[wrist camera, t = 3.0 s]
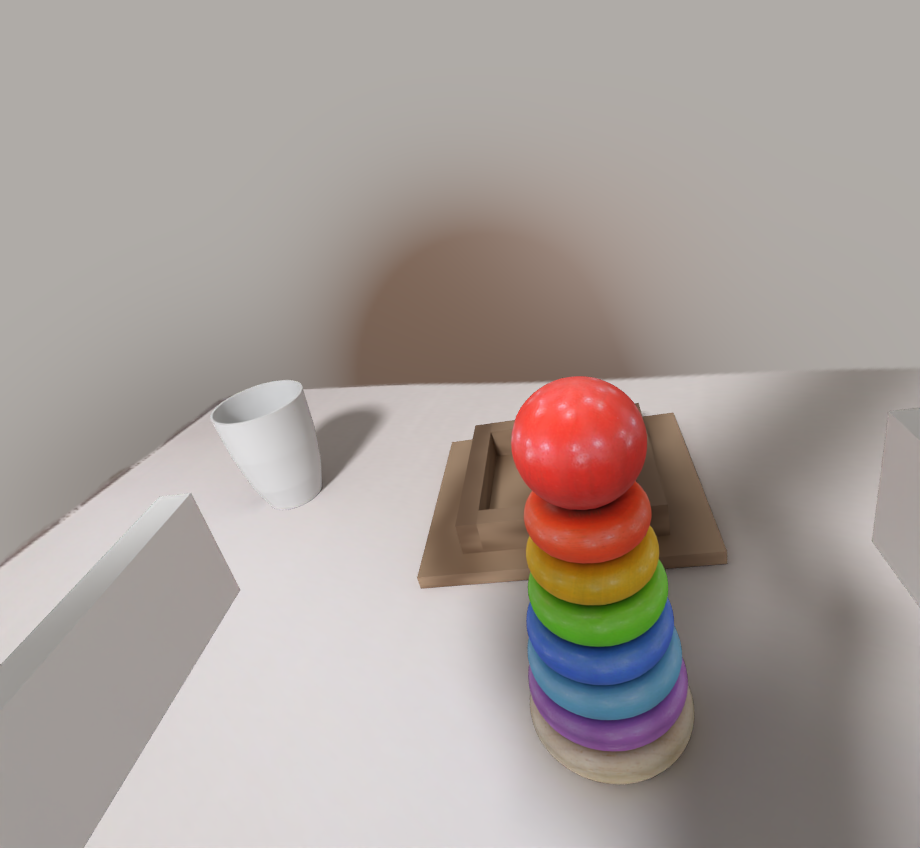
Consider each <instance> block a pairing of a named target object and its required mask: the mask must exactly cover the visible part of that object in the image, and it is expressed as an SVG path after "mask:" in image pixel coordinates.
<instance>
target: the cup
mask: <svg viewBox="0 0 920 848" xmlns="http://www.w3.org/2000/svg"><path fill="white" fill-rule="evenodd" d="M210 419H211V421H212V423H213V425H214V427H215V428H216V430H217V432H218V434H219V436H220V437H221V439H222V441H223V443H224V445H225V446H226V448H227V450H228V452H229V454H230V455H231V457H232V459H233V461H234V462H235V463H236V465H237V466H238V467H239V469H240V470H241V472H242V473H243V474H244V476H245V477H246V479H247V480H248V481H249V483H250V484H251V485H252V487H253V488H254V489H255V490H256V491H257V492H258V493H259V494H260V495H261V496H262V497H263V498H264V499H265V500H266V501H267V502H268V503H269V504H270V505H271V506H272V507H273V508H274V509H277V510H288V509H293V508H296V507H299V506H301V505H304V504H306V503H307V502H309V501H311V500H312V499H313V498H314V497H316V496H317V495H318V493H319V492H320V490H321V488H322V474H321V458H320V452H319V447H318V442H317V437H316V431H315V426H314V423H313V420H312V417H311V414H310V410H309V407H308V404H307V401H306V397H305V394H304V391H303V388H302V385H301V384H300V383H299V382H297V381H292V380H281V381H273V382H268V383H264V384H261V385H258V386H254V387H252V388H249V389H247V390H244V391H241V392H239V393H237V394H235V395H233V396H231V397H230V398H228V399H226V400H225V401H223V402H222V403H221V404H219V405H218V406H217V407H216V408H215V409H214V410H213V412H212V413H211V415H210Z"/></svg>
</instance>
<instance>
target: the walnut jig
mask: <svg viewBox="0 0 920 848" xmlns="http://www.w3.org/2000/svg"><path fill="white" fill-rule="evenodd" d="M635 405H636V406H637V408H638V410H639V411H640V413H641V410H640V407H639V403H635ZM641 416H642V414H641ZM642 418H643V421H644V424H645V428H646V433H647V452H646V458H645V462H644V465H643V468H642V470H641V472H640V474H639V476H638V477H637V479H636V482H637V483H638V484H639V485H640V486H641V487H642V489H643V490H644V491H645V492H646V494H647V496H648V499H649V501H650V506H651V514H652V515H651V522H650V526H651V527H652V528H653V530H654V532H655V535H656V537H657V540H658V544H659V560H660V562H661V563H662V565H663V567H664V569H667V568H680V567H692V566H705V565H717V564H727V550H726V547H725V545H724V542H723V540H722V537H721V535H720V532H719V529H718V527H717V524H716V522H715V519H714V517H713V514H712V511H711V509H710V506H709V504H708V501H707V499H706V496H705V493H704V491H703V488H702V486H701V483H700V480H699V478H698V475H697V473H696V470H695V468H694V465H693V462H692V460H691V457H690V455H689V452H688V450H687V447H686V444H685V442H684V439H683V437H682V434H681V431H680V429H679V426H678V424H677V421H676V419H675V416H674V413H667V414H659V415H652V416H645V417H642ZM514 422H515V420H512V421H505V422H498V423H491V424H484V425H476V426H475V430H474V435H473V440H465V441H458V442H452V445H451V449H450V453H449V457H448V461H447V464H446V468H445V472H444V476H443V480H442V484H441V488H440V492H439V495H438V499H437V503H436V507H435V511H434V515H433V519H432V523H431V526H430V530H429V534H428V538H427V542H426V546H425V550H424V553H423V557H422V561H421V565H420V569H419V573H418V577H417V579H418V581H419V584H420V587H421V588H433V587H445V586H458V585H470V584H482V583H495V582H507V581H519V580H529V576H530V570H529V568H528V564H527V559H526V546H527V541H528V538H529V534H528V532H527V529H526V526H525V522H524V508H525V504H526V501H527V499H528V497H529V495H530V493H531V492H532V490H531V489H530V488H529V487H528V486H527V485H526V484H525V482H524V480H523V479H522V477H521V476H520V474H519V472H518V470H517V468H516V465H515V463H514V459H513V455H512V448H511V438H512V430H513V426H514Z"/></svg>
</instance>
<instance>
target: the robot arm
mask: <svg viewBox="0 0 920 848" xmlns="http://www.w3.org/2000/svg"><path fill="white" fill-rule="evenodd" d="M872 542H873V544H874V545H875V546H876V548H877V549H878V550H879V552H880V553H881V555H882V556H883V557H884V559H885V560H886V562H887V563H888V564H889V566H890V567H891V569H892V570H893V571H894V573H895V574H896V575H897V577H898V578H899V580H900V581H901V582H902V584H903V585H904V587H905V588H906V589H907V591H908V592H909V594H910V595H911V596H912V598H913V599H914V600H915V602H916V603H917V605H918V606H919V607H920V408H912V409H904V410H895V411H889V412H888V420H887V428H886V435H885V443H884V451H883V459H882V466H881V474H880V482H879V490H878V497H877V505H876V513H875V521H874V528H873V536H872ZM239 591H240V588H239V586H238V584H237V582H236V580H235V578H234V577H233V575H232V573H231V571H230V569H229V567H228V565H227V563H226V561H225V559H224V557H223V555H222V553H221V551H220V549H219V547H218V545H217V543H216V541H215V539H214V537H213V535H212V533H211V531H210V529H209V527H208V525H207V523H206V521H205V519H204V517H203V515H202V514H201V512H200V510H199V508H198V506H197V504H196V502H195V500H194V498H193V496H192V494H191V493H186V494H177V495H169V496H160V497H159V498H158V499H157V500H156V501H155V502H154V503H153V504H152V505H151V506H150V507H149V508H148V509H147V510H146V511H145V512H144V514H143V515H142V516H141V517H140V518H139V519H138V520H137V521H136V522H135V523H134V524H133V525H132V526H131V527H130V528H129V529H128V530H127V532H126V533H125V534H124V535H123V536H122V537H121V538H120V539H119V540H118V541H117V542H116V543H115V544H114V545H113V546H112V547H111V548H110V550H109V551H108V552H107V553H106V554H105V555H104V556H103V557H102V558H101V559H100V560H99V561H98V562H97V563H96V564H95V565H94V566H93V568H92V569H91V570H90V571H89V572H88V573H87V574H86V575H85V576H84V577H83V578H82V579H81V580H80V581H79V582H78V583H77V584H76V586H75V587H74V588H73V589H72V590H71V591H70V592H69V593H68V594H67V595H66V596H65V597H64V598H63V599H62V600H61V601H60V603H59V604H58V605H57V606H56V607H55V608H54V609H53V610H52V611H51V612H50V613H49V614H48V615H47V616H46V617H45V618H44V619H43V621H42V622H41V623H40V624H39V625H38V626H37V627H36V628H35V629H34V630H33V631H32V632H31V633H30V634H29V635H28V636H27V637H26V639H25V640H24V641H23V642H22V643H21V644H20V645H19V646H18V647H17V648H16V649H15V650H14V651H13V652H12V653H11V654H10V655H9V657H8V658H7V659H6V660H5V661H4V662H3V663H2V664H1V665H0V848H84V846H85V845H86V843H87V841H88V840H89V838H90V837H91V835H92V833H93V832H94V830H95V828H96V827H97V825H98V823H99V822H100V820H101V818H102V817H103V815H104V813H105V812H106V810H107V809H108V807H109V805H110V804H111V802H112V800H113V799H114V797H115V795H116V794H117V792H118V790H119V789H120V787H121V785H122V784H123V782H124V781H125V779H126V777H127V776H128V774H129V772H130V771H131V769H132V767H133V766H134V764H135V762H136V761H137V759H138V758H139V756H140V754H141V753H142V751H143V749H144V748H145V746H146V744H147V743H148V741H149V739H150V738H151V736H152V734H153V733H154V731H155V730H156V728H157V726H158V725H159V723H160V721H161V720H162V718H163V716H164V715H165V713H166V711H167V710H168V708H169V706H170V705H171V703H172V702H173V700H174V698H175V697H176V695H177V693H178V692H179V690H180V688H181V687H182V685H183V683H184V682H185V680H186V678H187V677H188V675H189V674H190V672H191V670H192V669H193V667H194V665H195V664H196V662H197V660H198V659H199V657H200V655H201V654H202V652H203V651H204V649H205V647H206V646H207V644H208V642H209V641H210V639H211V637H212V636H213V634H214V632H215V631H216V629H217V627H218V626H219V624H220V623H221V621H222V619H223V618H224V616H225V614H226V613H227V611H228V609H229V608H230V606H231V604H232V603H233V601H234V599H235V598H236V596H237V595H238V593H239Z"/></svg>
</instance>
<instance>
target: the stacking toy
mask: <svg viewBox="0 0 920 848" xmlns="http://www.w3.org/2000/svg"><path fill="white" fill-rule="evenodd" d="M511 448H512V455H513V459H514V463H515V465H516V468H517V470H518V472H519V474H520V476H521V477H522V479H523V480H524V482H525V484H526V485H527V486H528V487H529V488H530V489H531V490H532V492H531V493H530V495H529V497H528V499H527V501H526V504H525V508H524V522H525V526H526V529H527V532H528V534H529V538H528V541H527V546H526V559H527V564H528V568H529V570H530V576H529V581H528V595H529V599H530V603H529V606H528V610H527V620H526V622H527V631H528V636H529V639H528V660H529V672H528V678H529V687H530V710H531V717H532V720H533V724H534V727H535V730H536V732H537V734H538V736H539V738H540V740H541V742H542V743H543V745H544V746H545V747H546V749H547V750H548V751H549V752H550V754H551V755H552V756H553V757H554V758H555V759H556V760H557V761H558V762H560V763H561V764H562V765H563V766H565V767H566V768H568V769H569V770H571V771H572V772H574V773H576V774H578V775H580V776H582V777H585V778H587V779H590V780H594V781H597V782H602V783H608V784H631V783H636V782H641V781H644V780H647V779H650V778H652V777H654V776H656V775H658V774H660V773H662V772H663V771H665V770H666V769H667V768H669V767H670V766H671V765H672V764H673V763H674V762H675V761H676V760H677V759H678V758H679V757H680V755H681V754H682V752H683V751H684V750H685V748H686V746H687V744H688V742H689V739H690V736H691V733H692V729H693V723H694V704H693V698H692V694H691V691H690V688H689V685H688V677H687V671H686V667H685V663H684V660H683V658H682V648H681V642H680V639H679V636H678V633H677V631H676V628H675V626H674V616H673V610H672V607H671V604H670V601H669V599H668V597H667V596H668V580H667V575H666V572H665V569H664V567H663V565H662V563H661V562H660V560H659V544H658V540H657V537H656V535H655V532H654V530H653V528H652V527H651V526H650V522H651V515H652V514H651V506H650V501H649V499H648V496H647V494H646V492H645V491H644V490H643V489H642V487H641V486H640V485H639V484H638V483H637V482H636V479H637V477H638V476H639V474H640V472H641V470H642V468H643V465H644V462H645V458H646V452H647V433H646V428H645V424H644V421H643V418H642V416H641V413H640V411H639V410H638V408H637V406H636V405H635V404H634V402H633V401H632V400H631V399H630V398H629V397H628V396H627V395H626V394H625V393H624V392H623V391H621V390H620V389H618V388H617V387H615V386H614V385H612V384H610V383H608V382H605V381H603V380H600V379H596V378H591V377H584V376H575V377H567V378H562V379H558V380H555V381H553V382H550V383H548V384H546V385H544V386H543V387H541V388H540V389H538V390H537V391H536V392H534V393H533V394H532V395H531V396H530V397H529V398H528V399H527V400H526V401H525V403H524V404H523V405H522V407H521V408H520V410H519V412H518V414H517V416H516V419H515V422H514V426H513V430H512V438H511Z"/></svg>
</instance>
